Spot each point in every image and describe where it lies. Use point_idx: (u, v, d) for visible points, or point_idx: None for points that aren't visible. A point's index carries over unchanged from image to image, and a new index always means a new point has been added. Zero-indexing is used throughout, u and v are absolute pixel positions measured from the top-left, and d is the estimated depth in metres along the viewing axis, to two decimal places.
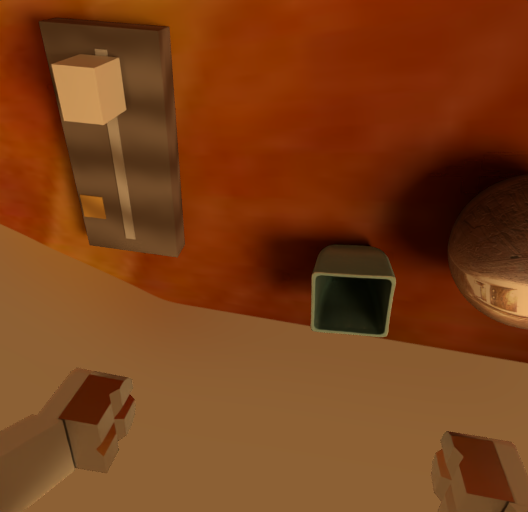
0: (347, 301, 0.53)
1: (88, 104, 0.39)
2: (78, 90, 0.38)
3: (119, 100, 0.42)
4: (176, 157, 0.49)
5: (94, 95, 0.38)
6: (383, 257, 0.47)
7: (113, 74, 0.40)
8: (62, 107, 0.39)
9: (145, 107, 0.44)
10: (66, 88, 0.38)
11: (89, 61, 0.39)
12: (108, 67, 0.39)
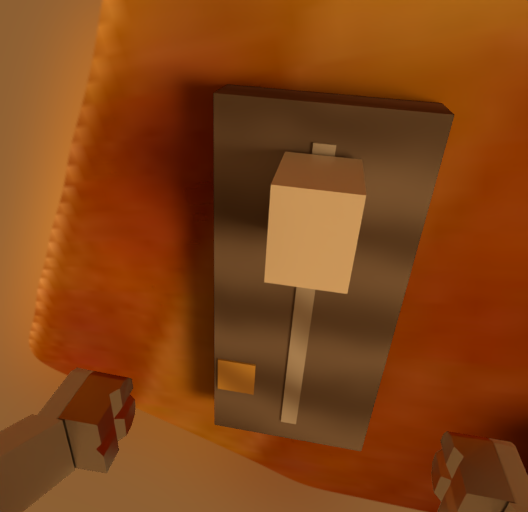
0: None
1: (327, 257, 0.19)
2: (313, 234, 0.19)
3: None
4: None
5: (348, 243, 0.19)
6: None
7: None
8: (268, 260, 0.20)
9: (380, 240, 0.24)
10: (289, 228, 0.19)
11: (328, 173, 0.20)
12: None
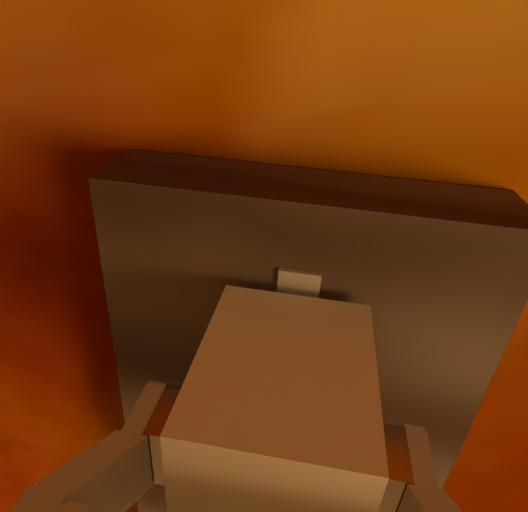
0: None
1: None
2: None
3: None
4: None
5: None
6: None
7: None
8: None
9: (401, 420, 0.14)
10: (212, 510, 0.08)
11: (303, 366, 0.09)
12: None
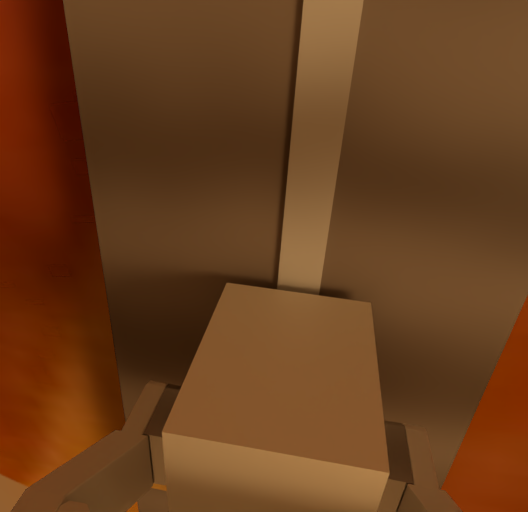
0: None
1: None
2: None
3: None
4: None
5: None
6: None
7: None
8: None
9: (473, 196, 0.10)
10: (214, 505, 0.08)
11: (303, 362, 0.09)
12: None
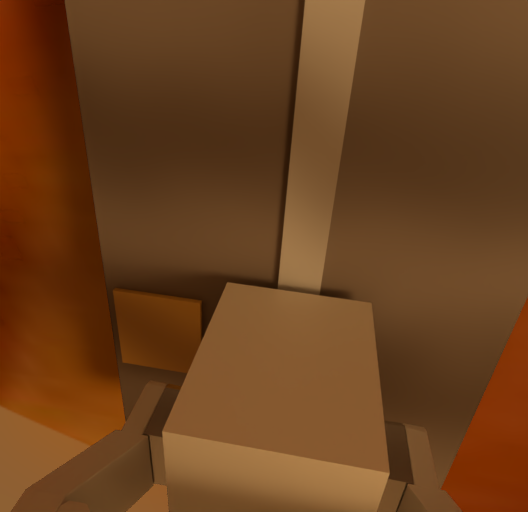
0: None
1: None
2: None
3: None
4: None
5: None
6: None
7: None
8: None
9: None
10: (214, 505, 0.08)
11: (304, 362, 0.09)
12: None
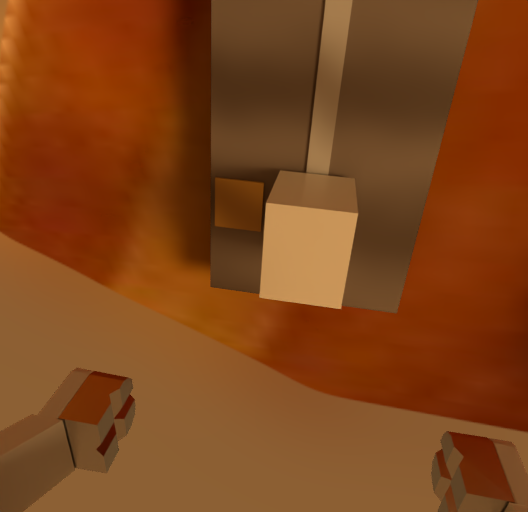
0: None
1: (320, 273, 0.20)
2: (307, 250, 0.19)
3: None
4: None
5: (341, 259, 0.19)
6: None
7: None
8: (264, 276, 0.20)
9: None
10: (284, 245, 0.19)
11: (322, 191, 0.20)
12: None
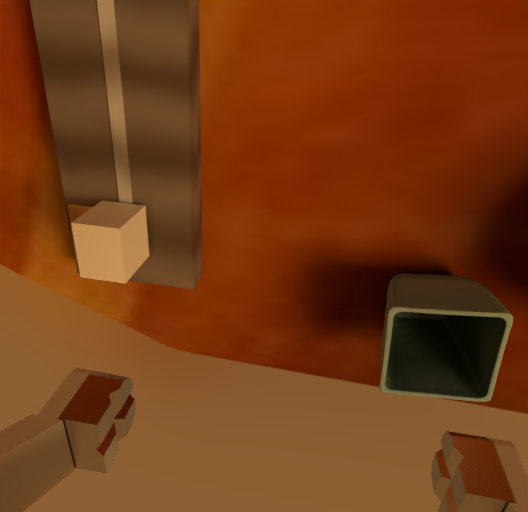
0: (422, 350, 0.39)
1: (109, 262, 0.34)
2: (99, 249, 0.34)
3: (143, 249, 0.38)
4: (198, 155, 0.37)
5: (118, 254, 0.34)
6: (482, 288, 0.34)
7: (139, 225, 0.36)
8: (80, 264, 0.35)
9: (161, 80, 0.32)
10: (86, 246, 0.34)
11: (113, 215, 0.35)
12: (134, 220, 0.35)
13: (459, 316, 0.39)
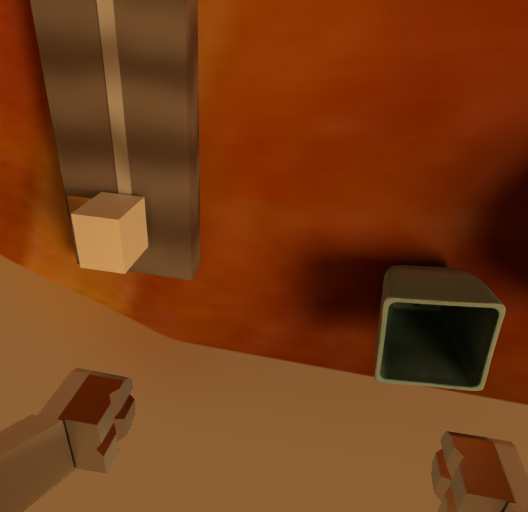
0: (417, 340, 0.40)
1: (108, 253, 0.35)
2: (98, 240, 0.34)
3: (142, 240, 0.38)
4: (196, 147, 0.38)
5: (117, 245, 0.34)
6: (476, 279, 0.35)
7: (138, 216, 0.37)
8: (79, 254, 0.35)
9: (160, 72, 0.33)
10: (85, 237, 0.34)
11: (112, 206, 0.35)
12: (133, 212, 0.36)
13: (454, 307, 0.40)
